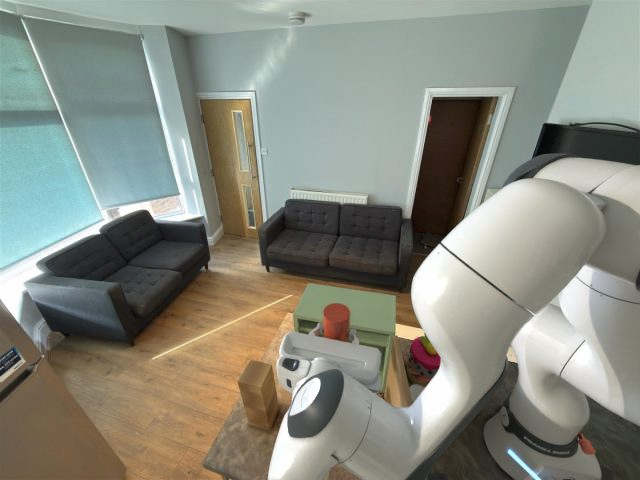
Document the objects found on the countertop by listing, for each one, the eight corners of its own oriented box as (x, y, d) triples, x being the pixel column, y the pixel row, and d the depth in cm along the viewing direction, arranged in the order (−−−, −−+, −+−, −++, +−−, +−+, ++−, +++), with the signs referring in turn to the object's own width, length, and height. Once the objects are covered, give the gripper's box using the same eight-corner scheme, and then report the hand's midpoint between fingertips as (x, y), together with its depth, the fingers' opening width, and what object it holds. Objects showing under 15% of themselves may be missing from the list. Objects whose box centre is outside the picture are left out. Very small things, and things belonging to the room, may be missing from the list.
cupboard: (386, 393, 74) (395, 332, 63) (298, 373, 81) (292, 314, 69) (387, 353, 86) (396, 295, 75) (311, 338, 93) (308, 282, 81)
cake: (448, 391, 75) (460, 355, 68) (410, 390, 75) (419, 355, 68) (434, 359, 84) (444, 325, 77) (401, 359, 84) (408, 325, 77)
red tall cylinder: (350, 343, 63) (352, 305, 57) (346, 364, 58) (347, 324, 52) (326, 338, 64) (326, 301, 59) (320, 358, 59) (320, 319, 54)
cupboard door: (407, 397, 73) (420, 336, 62) (435, 535, 50) (465, 477, 39) (384, 396, 74) (393, 335, 63) (402, 531, 51) (421, 473, 39)
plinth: (279, 407, 72) (272, 364, 63) (270, 431, 67) (261, 387, 58) (259, 402, 73) (249, 359, 65) (248, 424, 68) (237, 381, 60)
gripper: (382, 387, 43) (385, 326, 55) (268, 361, 48) (293, 309, 60) (378, 409, 46) (382, 346, 58) (271, 383, 51) (295, 329, 63)
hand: (336, 327), depth 59 cm, fingers closed on red tall cylinder, 6 cm apart
